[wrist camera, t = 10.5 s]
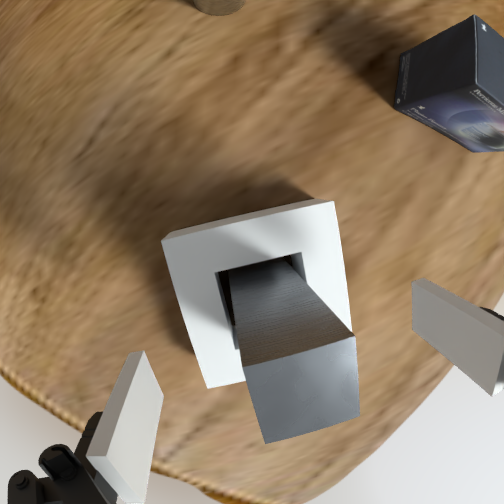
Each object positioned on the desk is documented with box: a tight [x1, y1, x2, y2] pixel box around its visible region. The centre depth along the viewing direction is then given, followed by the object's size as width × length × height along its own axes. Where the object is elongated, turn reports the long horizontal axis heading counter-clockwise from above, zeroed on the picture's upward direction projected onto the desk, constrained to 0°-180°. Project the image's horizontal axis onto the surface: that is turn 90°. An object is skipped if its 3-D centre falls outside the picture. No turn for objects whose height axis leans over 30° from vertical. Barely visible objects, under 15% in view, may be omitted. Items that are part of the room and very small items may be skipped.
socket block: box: [161, 199, 352, 388], centre depth 22 cm, size 11×11×4 cm
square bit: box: [228, 257, 360, 444], centre depth 17 cm, size 4×4×14 cm
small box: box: [394, 15, 504, 152], centre depth 18 cm, size 11×6×10 cm, turn 76°
